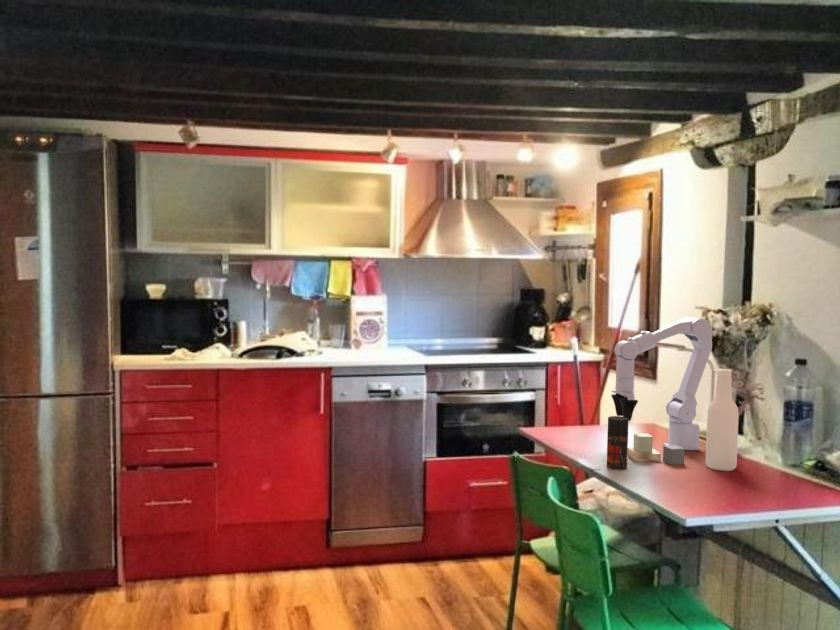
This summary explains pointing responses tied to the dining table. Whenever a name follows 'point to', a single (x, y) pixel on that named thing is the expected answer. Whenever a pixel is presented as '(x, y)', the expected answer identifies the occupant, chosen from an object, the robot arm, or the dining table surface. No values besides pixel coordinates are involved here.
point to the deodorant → (617, 442)
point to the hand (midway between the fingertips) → (623, 418)
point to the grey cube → (673, 454)
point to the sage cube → (643, 442)
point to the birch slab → (644, 455)
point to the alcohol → (722, 426)
